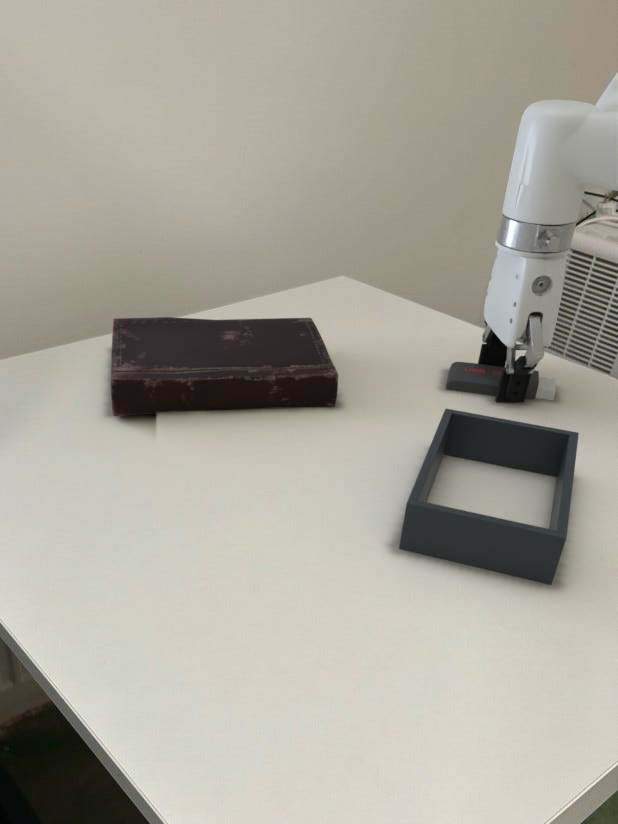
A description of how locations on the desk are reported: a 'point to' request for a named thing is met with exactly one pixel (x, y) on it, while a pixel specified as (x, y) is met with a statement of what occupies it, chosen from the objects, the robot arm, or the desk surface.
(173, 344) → the diary
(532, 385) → the usb drive
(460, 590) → the desk surface
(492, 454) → the tub
